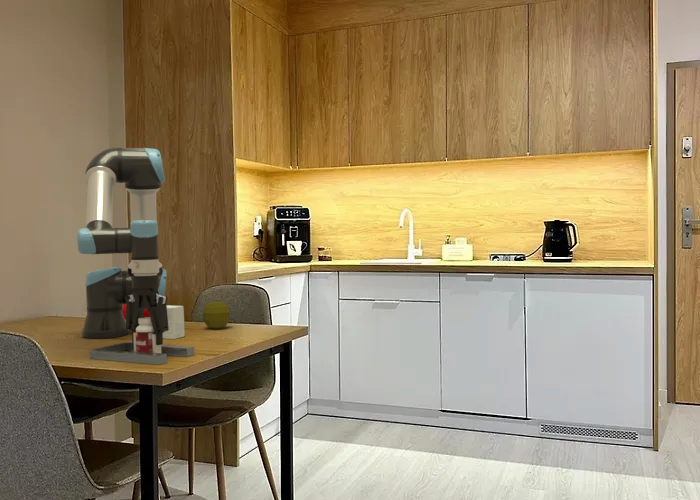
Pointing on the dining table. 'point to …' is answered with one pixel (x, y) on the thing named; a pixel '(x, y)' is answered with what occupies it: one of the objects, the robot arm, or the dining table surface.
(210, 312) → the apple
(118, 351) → the grey u-shaped frame
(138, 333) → the pill bottle
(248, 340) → the dining table surface
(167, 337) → the small box
